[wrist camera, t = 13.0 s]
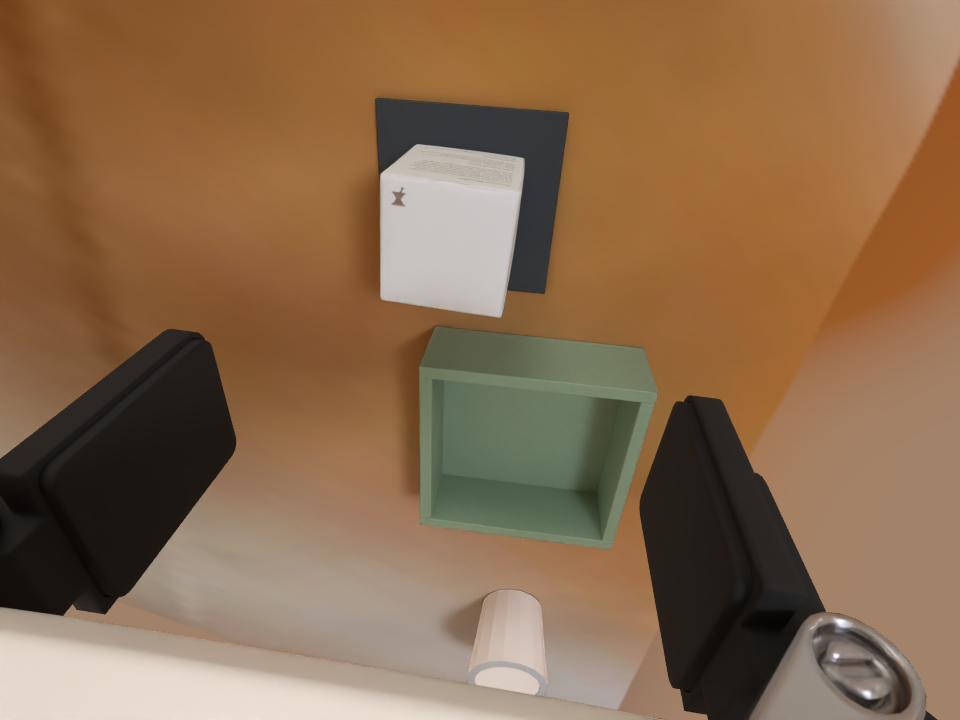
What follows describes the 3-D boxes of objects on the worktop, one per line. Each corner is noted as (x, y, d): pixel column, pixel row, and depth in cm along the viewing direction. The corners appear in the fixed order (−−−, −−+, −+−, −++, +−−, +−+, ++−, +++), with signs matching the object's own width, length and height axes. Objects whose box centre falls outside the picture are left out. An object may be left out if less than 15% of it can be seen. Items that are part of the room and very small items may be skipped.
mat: (377, 97, 27) (375, 98, 26) (568, 112, 26) (569, 113, 26) (385, 275, 32) (383, 278, 32) (544, 291, 31) (544, 294, 31)
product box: (410, 249, 30) (375, 301, 24) (415, 140, 27) (376, 169, 21) (511, 264, 30) (502, 321, 24) (528, 156, 27) (523, 190, 21)
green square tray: (435, 325, 33) (418, 366, 29) (644, 347, 33) (658, 392, 28) (433, 475, 41) (419, 525, 36) (604, 496, 40) (611, 550, 36)
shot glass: (560, 620, 49) (561, 699, 43) (497, 633, 51) (491, 710, 46) (527, 578, 46) (524, 656, 40) (463, 594, 49) (451, 670, 43)
